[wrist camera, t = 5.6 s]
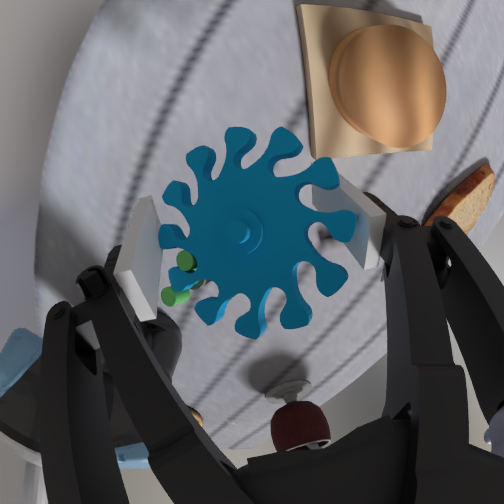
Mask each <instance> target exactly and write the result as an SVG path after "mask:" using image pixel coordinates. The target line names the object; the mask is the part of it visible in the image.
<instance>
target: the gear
mask: <svg viewBox="0 0 504 504" xmlns="http://www.w3.org/2000/svg"><path fill="white" fill-rule="evenodd" d="M256 140H257V137H256V134H254V133H253V132H252V131H251V130H249V129H247V128H243V127H229V128H228V129H227V131H226V133H225V143H226V149H227V152H226V160H225V163H224V166H223V168H222V171H221V173H220V175H219V177H218V178H217V179H215V180H212V178H211V171H212V169H213V166H214V164H215V162H216V153H215V151H214V150H213V149H211V148H209V147H207V146H199V147H197V148H195V149H193V150H192V151H190V152H189V153H187V155H186V162H187V164H188V166H189V167H190V168H191V169H192V170H193V172H194V174H195V176H196V179H197V183H198V200H197V202H196V204H195V205H194V206H193V205H192V203H191V195H190V188H189V186H188V185H187V184H186V183H183V182H179V181H174V180H173V181H172V182H171V183H170V184H169V185H168V187H167V188H166V190H165V192H164V193H163V195H162V198H163V201H164V202H165V203H166V204H167V205H171V206H173V207H176V208H177V209H178V210H180V212H181V213H182V214H183V215H184V217H185V218H186V220H187V222H188V224H189V226H190V234H189V236H188V238H186V237H185V235H184V233H183V231H182V230H181V228H180V227H179V226H178V225H175V224H163V225H161V227H160V229H159V233H158V240H159V245H160V248H162V249H172V248H177V247H178V248H182V249H184V250H183V251H181V252H179V253H178V255H177V259H176V260H177V265H178V266H177V267H173V268H171V269H170V270H169V279H170V283H171V286H170V287H167V288H164V289H163V290H162V292H161V298H162V301H163V303H164V304H165V305H167V306H174V305H176V304H179V303H182V302H184V301H187V300H188V299H189V297H190V291H189V289H193V290H195V289H199V288H202V287H205V286H206V285H208V284H209V283H211V282H212V281H213V282H215V283H216V284H217V286H218V289H219V295H218V297H209V298H206V299H204V300H201V301H199V302H198V303H197V304H196V306H195V311H196V313H197V314H198V316H199V317H200V318H201V319H202V320H203V321H204V322H205V323H206V324H207V325H212V324H213V323H215V322H217V321H219V320H220V319H222V317H223V316H224V312H225V308H226V306H227V304H228V302H229V301H230V300H231V299H232V297H234V296H235V295H236V294H238V293H243V294H245V295H246V296H247V297H248V298H249V299H250V302H251V308H250V310H249V312H247V313H245V314H244V315H242V316H241V317H239V318H238V319H237V320H236V323H235V331H236V332H237V333H239V334H241V335H243V336H245V337H248V338H252V339H257V338H258V337H259V336H261V335H262V334H263V333H264V332H265V330H266V327H267V323H266V319H265V313H264V310H265V303H266V299H267V297H268V295H269V293H270V291H271V289H272V288H273V287H277V288H280V289H282V290H283V291H284V292H285V294H286V297H287V301H286V304H285V306H284V308H283V310H282V312H281V314H280V322H281V325H282V326H283V328H284V329H296V328H300V327H303V326H306V325H308V324H309V323H310V321H311V319H312V309H311V307H310V306H309V305H308V304H307V303H306V302H305V300H304V299H303V297H302V295H301V293H300V291H299V288H298V283H297V266H298V264H299V263H300V262H301V261H307V262H309V263H311V264H312V265H313V266H314V267H315V270H316V283H317V288H318V290H319V291H320V292H321V293H322V294H323V295H324V296H327V297H329V296H331V295H333V294H334V293H336V292H337V291H338V290H339V289H340V288H341V287H342V286H343V284H344V283H345V282H346V280H347V279H348V273H347V271H346V269H345V268H344V267H342V266H341V265H338V264H335V263H332V262H330V261H328V260H326V259H325V258H324V257H322V256H321V255H320V254H319V253H318V252H317V250H316V249H315V248H314V246H313V245H312V243H311V241H310V240H309V238H308V229H309V227H310V226H311V225H312V224H313V223H315V222H321V223H323V224H324V225H325V226H326V227H327V229H328V230H329V232H330V233H331V235H332V236H333V238H335V239H336V240H338V241H340V242H350V241H351V239H352V238H353V236H354V233H355V229H356V222H357V215H356V214H355V213H353V212H352V211H349V210H340V211H336V212H330V213H326V212H318V211H314V210H312V209H310V208H308V207H306V206H304V205H303V204H302V203H301V202H300V200H299V191H300V189H301V188H302V187H303V186H305V185H307V184H313V185H315V186H318V187H320V188H322V189H324V190H333V189H336V188H337V187H338V186H340V179H339V175H338V172H337V170H336V167H335V165H334V163H333V162H332V160H331V158H330V157H321V158H319V159H317V160H316V161H315V162H314V163H313V164H312V165H311V166H310V167H309V168H307V169H306V170H305V171H303V172H301V173H299V174H296V175H292V176H287V177H275V175H274V173H273V168H274V165H275V163H276V162H277V161H279V160H281V159H286V158H293V157H295V156H297V155H298V154H300V152H301V151H302V149H303V145H302V143H301V142H300V141H299V140H298V138H297V137H296V136H295V135H294V134H293V133H291V132H290V131H289V130H287V129H285V128H283V127H279V128H277V129H276V130H275V131H274V132H273V133H272V135H271V139H270V143H269V145H268V148H267V149H266V151H265V153H264V154H263V155H262V156H261V158H260V159H258V160H257V161H256V162H255V163H254V164H252V165H251V166H250V167H248V168H247V169H242V167H241V159H242V157H243V156H244V155H245V154H246V153H248V152H249V151H250V150H251V149H252V148H253V147H254V146H255V144H256Z"/></svg>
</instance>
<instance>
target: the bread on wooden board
mask: <svg viewBox="0 0 504 504" xmlns="http://www.w3.org/2000/svg"><path fill="white" fill-rule="evenodd" d="M296 9H297V16H298V22H299V29H300V36H301V44H302V52H303V60H304V69H305V78H306V88H307V99H308V110H309V123H310V138H311V156H312V157H313V158H314V159H315V160H317V159H319V158H321V157H330V158H339V157H348V156H358V155H368V154H380V153H393V152H408V151H430V150H432V142H433V131H434V130H435V128H436V127H437V125H438V123H439V122H440V120H441V117H442V115H443V111H444V108H445V102H446V81H445V75H444V71H443V68H442V65H441V63H440V61H439V59H438V57H437V55H436V53H435V52H434V49H433V38H432V28H431V26H428V25H424V24H421V23H418V22H414V21H411V20H407V19H403V18H399V17H395V16H391V15H386V14H381V13H376V12H371V11H365V10H359V9H352V8H344V7H335V6H325V5H309V4H300V5H299V6H297V7H296Z"/></svg>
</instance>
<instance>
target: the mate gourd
mask: <svg viewBox="0 0 504 504" xmlns="http://www.w3.org/2000/svg"><path fill="white" fill-rule="evenodd" d="M311 388H312V386H311V383H310V382H308V381H304V380H297V381H290V382H286V383H283V384H280V385H278V386H276V387H274V388H272V389H271V390H269V391H268V392H267V393H266V396H265V397H266V400H267V401H268V402H270V403H286V405H285V406H283V407H281V408H279V409H278V410H277V411H276V412H275V413H274V415H273V417H272V419H271V436H272V440H273V444H274V446H275V448H276V450H277V452H280V451H290V450H313V449H323V448H322V447H324V446H326V445H328V444H329V443H330V442H331V437H330V429H329V425H328V423H327V420H326V417H325V416H324V414H323V412H322V410H321V409H320V408H319V407H318V406H317V405H315V404H313V403H312V402H310V401H297V399H299V398H301V397H303V396H304V395H306V394H307V393H309V391H310V390H311Z"/></svg>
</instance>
